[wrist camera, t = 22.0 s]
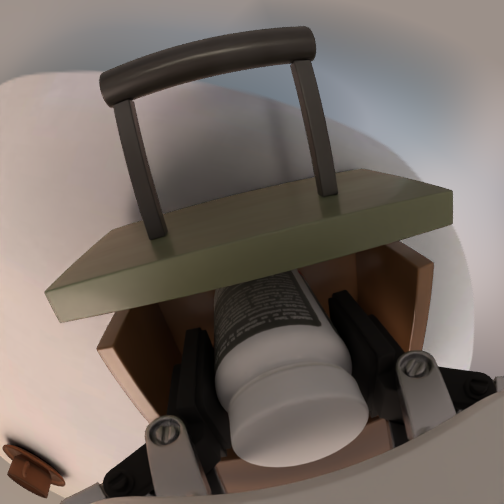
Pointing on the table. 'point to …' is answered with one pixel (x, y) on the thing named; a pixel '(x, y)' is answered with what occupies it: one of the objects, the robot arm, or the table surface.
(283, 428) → the pill bottle
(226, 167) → the table surface
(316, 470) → the cabinet
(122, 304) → the drawer
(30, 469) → the cup and saucer
